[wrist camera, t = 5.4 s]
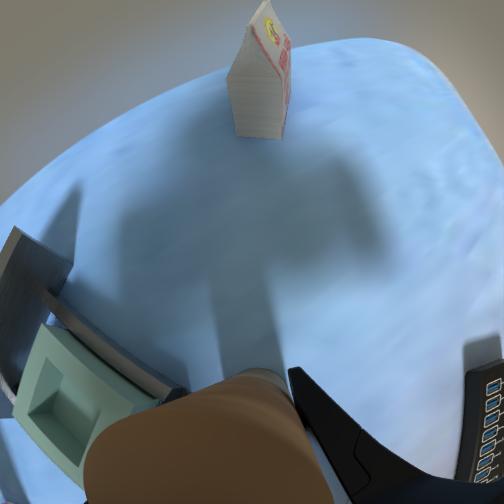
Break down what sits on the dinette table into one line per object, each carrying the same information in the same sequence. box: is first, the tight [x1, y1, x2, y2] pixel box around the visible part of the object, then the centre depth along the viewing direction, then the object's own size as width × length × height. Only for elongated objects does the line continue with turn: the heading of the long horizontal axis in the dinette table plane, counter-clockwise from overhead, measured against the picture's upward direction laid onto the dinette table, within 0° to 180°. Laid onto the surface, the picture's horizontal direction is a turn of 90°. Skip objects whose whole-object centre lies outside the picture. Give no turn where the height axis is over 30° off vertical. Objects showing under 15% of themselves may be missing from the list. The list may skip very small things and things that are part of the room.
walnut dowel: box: [83, 368, 335, 504], centre depth 8 cm, size 4×4×13 cm
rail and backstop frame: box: [0, 226, 192, 419], centre depth 12 cm, size 14×16×6 cm
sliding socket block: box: [12, 323, 159, 491], centre depth 13 cm, size 8×8×4 cm
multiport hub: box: [454, 359, 504, 483], centre depth 10 cm, size 4×14×2 cm, turn 1°
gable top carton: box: [226, 0, 291, 140], centre depth 18 cm, size 4×7×10 cm, turn 169°
